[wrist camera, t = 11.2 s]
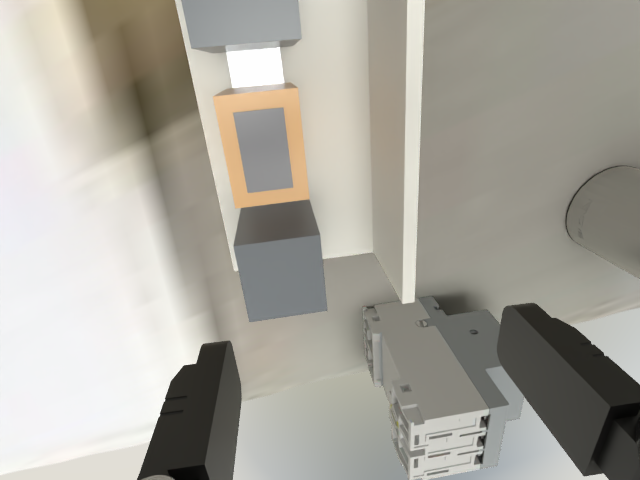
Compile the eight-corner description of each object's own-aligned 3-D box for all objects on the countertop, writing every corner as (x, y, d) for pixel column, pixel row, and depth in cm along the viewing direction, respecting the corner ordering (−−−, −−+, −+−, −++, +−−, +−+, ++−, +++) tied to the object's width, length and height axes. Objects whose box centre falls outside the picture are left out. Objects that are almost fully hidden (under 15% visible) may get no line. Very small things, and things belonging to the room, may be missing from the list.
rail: (262, -96, 25) (262, -99, 24) (304, 257, 36) (304, 260, 36) (202, -92, 24) (200, -95, 24) (264, 262, 36) (263, 265, 36)
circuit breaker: (477, 338, 45) (564, 452, 32) (364, 357, 44) (406, 483, 31) (483, 287, 42) (583, 391, 29) (362, 306, 41) (407, 423, 28)
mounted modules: (281, -62, 25) (287, -118, 17) (314, 258, 36) (327, 310, 28) (189, -56, 24) (154, -110, 17) (252, 267, 35) (247, 322, 28)
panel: (375, -106, 26) (431, -197, 17) (380, 246, 38) (414, 302, 29) (157, -93, 25) (94, -183, 16) (235, 266, 37) (224, 330, 28)
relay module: (290, 82, 29) (298, 87, 22) (300, 169, 32) (310, 199, 25) (226, 88, 28) (212, 96, 21) (242, 176, 32) (235, 209, 24)
